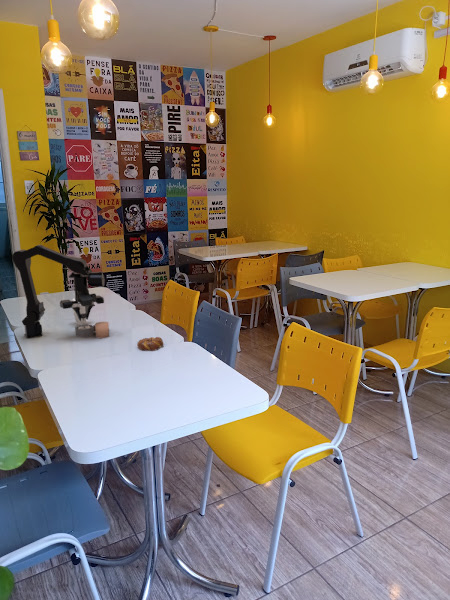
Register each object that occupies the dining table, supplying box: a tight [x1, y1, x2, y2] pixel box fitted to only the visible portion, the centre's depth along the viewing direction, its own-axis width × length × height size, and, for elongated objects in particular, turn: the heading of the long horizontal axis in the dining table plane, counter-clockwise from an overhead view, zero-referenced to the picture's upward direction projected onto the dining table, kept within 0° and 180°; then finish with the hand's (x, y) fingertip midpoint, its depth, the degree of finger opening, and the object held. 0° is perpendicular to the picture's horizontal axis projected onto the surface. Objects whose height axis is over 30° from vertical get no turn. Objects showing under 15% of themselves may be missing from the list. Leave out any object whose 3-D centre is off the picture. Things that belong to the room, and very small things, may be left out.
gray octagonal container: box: [74, 324, 96, 338], centre depth 208 cm, size 10×8×4 cm
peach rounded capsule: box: [94, 321, 110, 339], centre depth 205 cm, size 6×6×6 cm
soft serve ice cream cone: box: [71, 297, 87, 326], centre depth 223 cm, size 8×8×16 cm
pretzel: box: [136, 336, 164, 351], centre depth 192 cm, size 12×11×4 cm
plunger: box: [78, 313, 91, 329], centre depth 207 cm, size 6×6×7 cm
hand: (83, 319), depth 207 cm, fingers closed on plunger, 3 cm apart
